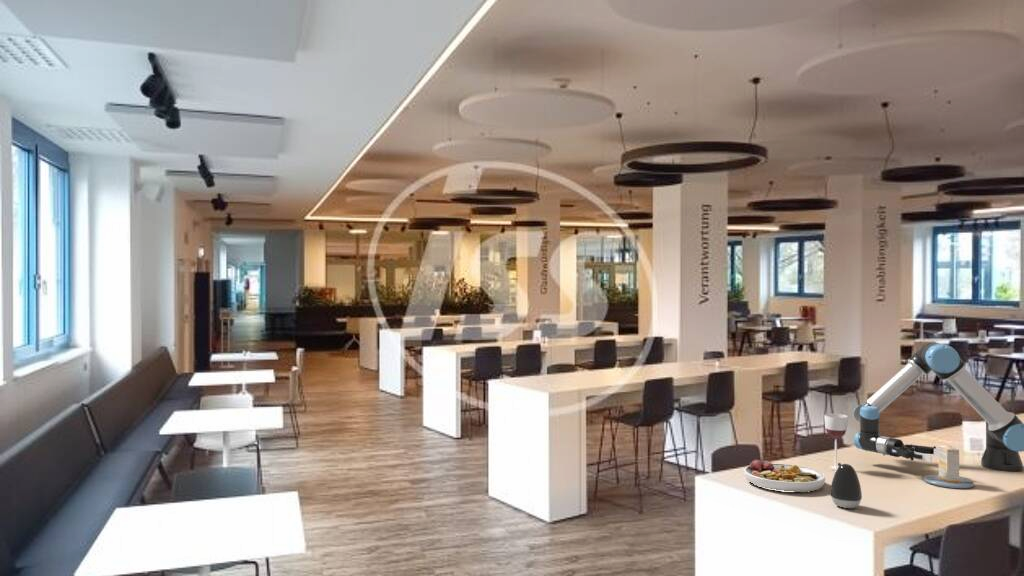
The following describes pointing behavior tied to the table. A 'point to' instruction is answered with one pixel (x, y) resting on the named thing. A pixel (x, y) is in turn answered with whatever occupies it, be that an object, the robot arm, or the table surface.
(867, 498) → the table surface
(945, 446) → the supplement box
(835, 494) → the black egg-shaped piece
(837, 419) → the wineglass
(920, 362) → the robot arm
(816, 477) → the bowl
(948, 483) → the dish
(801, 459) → the table surface
